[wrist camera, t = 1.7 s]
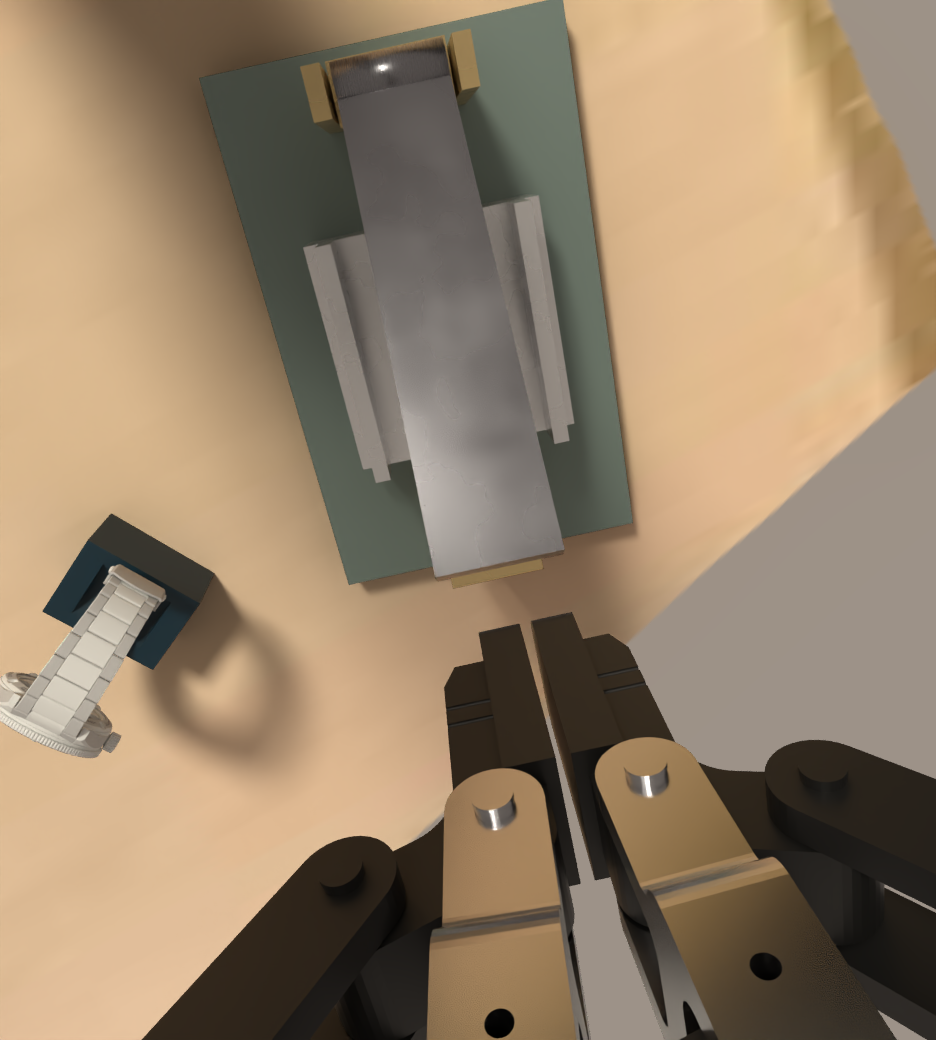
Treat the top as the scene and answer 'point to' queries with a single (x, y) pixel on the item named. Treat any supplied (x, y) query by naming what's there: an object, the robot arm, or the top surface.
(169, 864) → the top surface
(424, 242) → the strap
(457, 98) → the clip posts
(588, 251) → the board
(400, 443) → the heat sink
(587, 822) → the robot arm
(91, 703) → the watch
